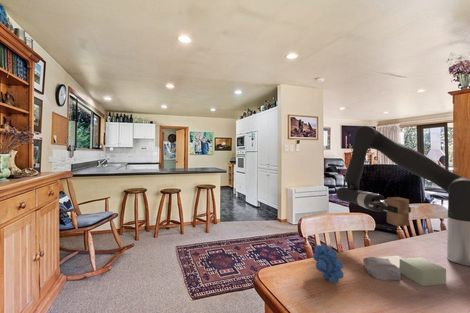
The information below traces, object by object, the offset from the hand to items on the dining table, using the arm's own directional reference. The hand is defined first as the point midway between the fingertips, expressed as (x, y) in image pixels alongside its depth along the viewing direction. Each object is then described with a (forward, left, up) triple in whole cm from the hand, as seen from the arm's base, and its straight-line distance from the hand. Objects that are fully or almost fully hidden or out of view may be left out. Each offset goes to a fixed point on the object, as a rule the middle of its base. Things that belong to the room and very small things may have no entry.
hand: (403, 210), depth 89 cm
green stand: (0, +7, -22) cm, 23 cm away
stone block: (+11, +1, -22) cm, 25 cm away
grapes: (+34, +3, -22) cm, 41 cm away
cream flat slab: (0, -3, -22) cm, 22 cm away
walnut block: (0, -3, -6) cm, 7 cm away
